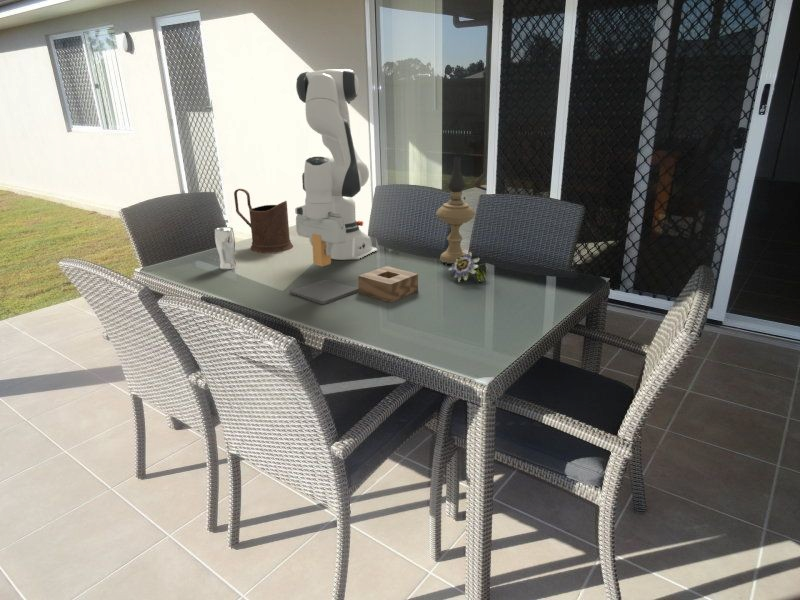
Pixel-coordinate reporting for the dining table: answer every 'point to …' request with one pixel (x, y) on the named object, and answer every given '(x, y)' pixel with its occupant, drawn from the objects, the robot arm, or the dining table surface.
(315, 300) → the mat
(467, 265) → the passion flower
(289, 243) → the rusty metal jug
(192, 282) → the dining table surface
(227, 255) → the beer glass
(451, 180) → the oil lamp
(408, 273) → the socket block
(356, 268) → the dining table surface
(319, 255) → the pin
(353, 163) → the robot arm
